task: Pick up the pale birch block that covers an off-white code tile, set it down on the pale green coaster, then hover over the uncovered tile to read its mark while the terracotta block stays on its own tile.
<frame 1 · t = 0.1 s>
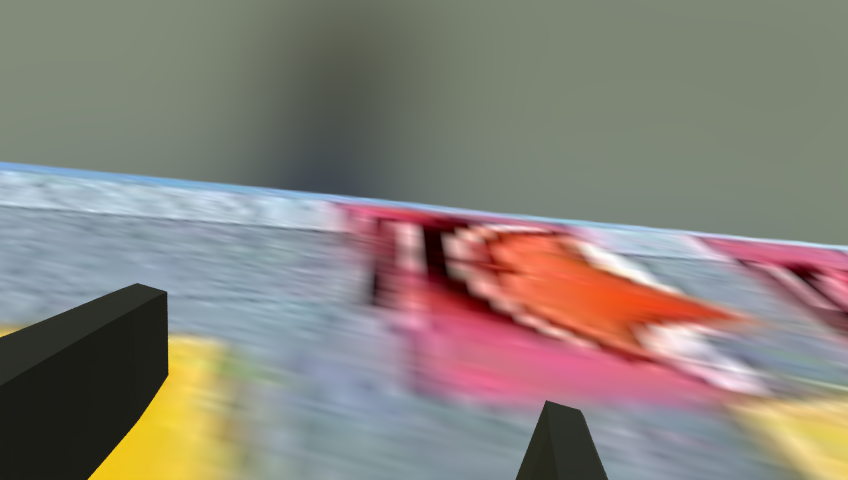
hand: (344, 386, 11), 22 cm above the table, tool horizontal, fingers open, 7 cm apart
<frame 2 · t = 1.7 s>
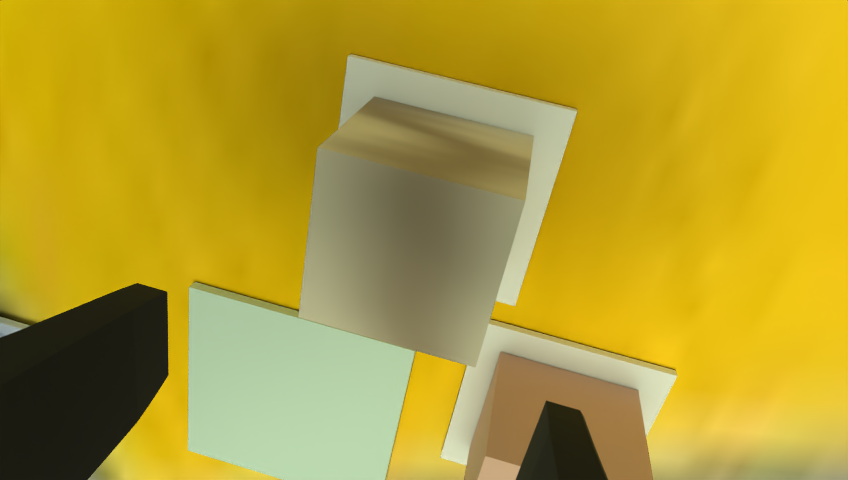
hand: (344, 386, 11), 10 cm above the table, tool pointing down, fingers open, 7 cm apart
birch block: (436, 190, 20), resting on code tile a
coaster: (293, 399, 26), on the table
code tile a: (438, 186, 20), on the table
terracotta block: (548, 421, 23), resting on code tile b
code tile b: (548, 414, 23), on the table
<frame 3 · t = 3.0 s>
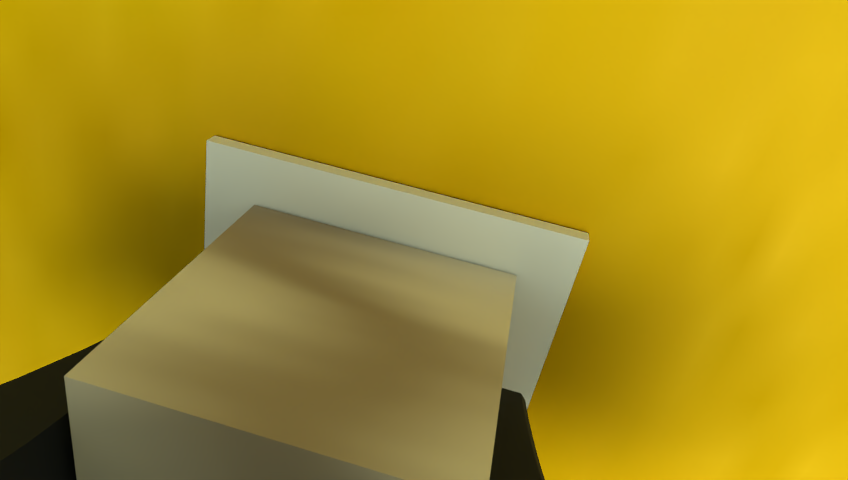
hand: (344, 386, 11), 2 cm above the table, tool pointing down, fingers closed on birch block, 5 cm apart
birch block: (363, 345, 12), resting on code tile a, touching gripper
code tile a: (368, 335, 13), on the table
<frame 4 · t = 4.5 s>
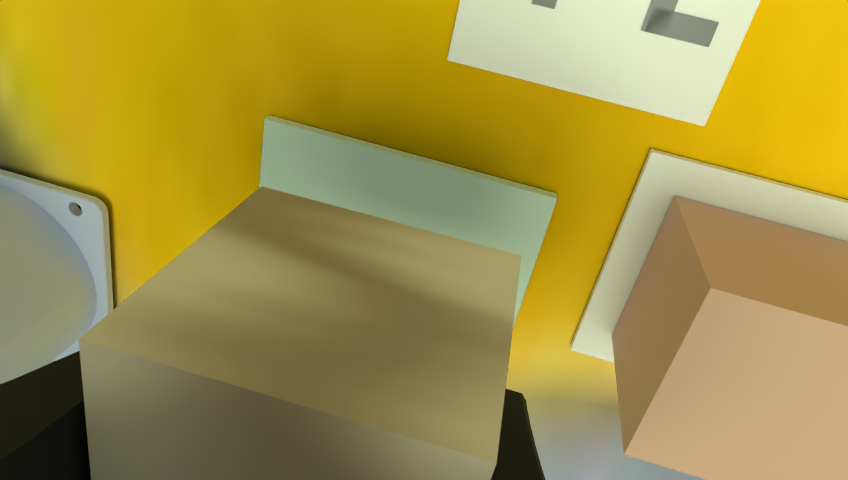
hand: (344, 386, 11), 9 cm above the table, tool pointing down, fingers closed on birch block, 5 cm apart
birch block: (368, 328, 13), point 7 cm above the table, touching gripper
coaster: (385, 277, 21), on the table
terracotta block: (725, 293, 18), resting on code tile b
code tile b: (722, 287, 18), on the table
when the fingers open (3 cm above the table, at t = 6.4 s): birch block stays where it is, resting on coaster.
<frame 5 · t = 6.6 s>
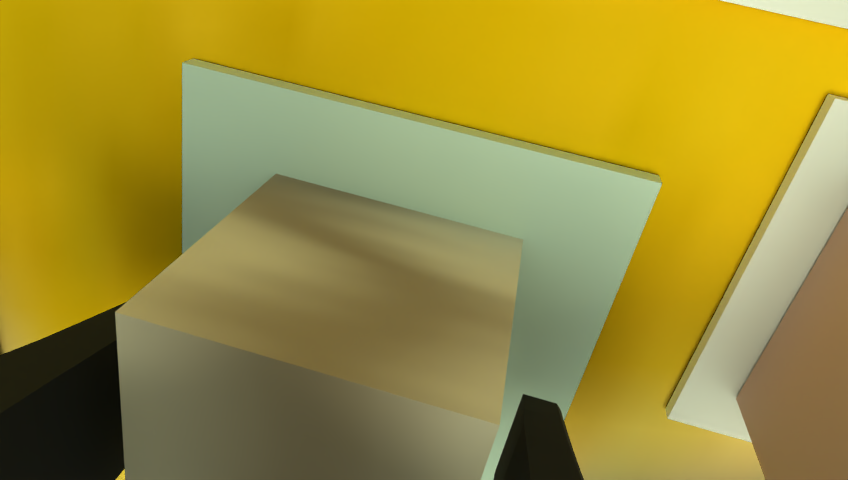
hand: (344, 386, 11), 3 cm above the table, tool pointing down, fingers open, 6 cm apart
birch block: (377, 309, 13), resting on coaster
coaster: (381, 309, 14), on the table
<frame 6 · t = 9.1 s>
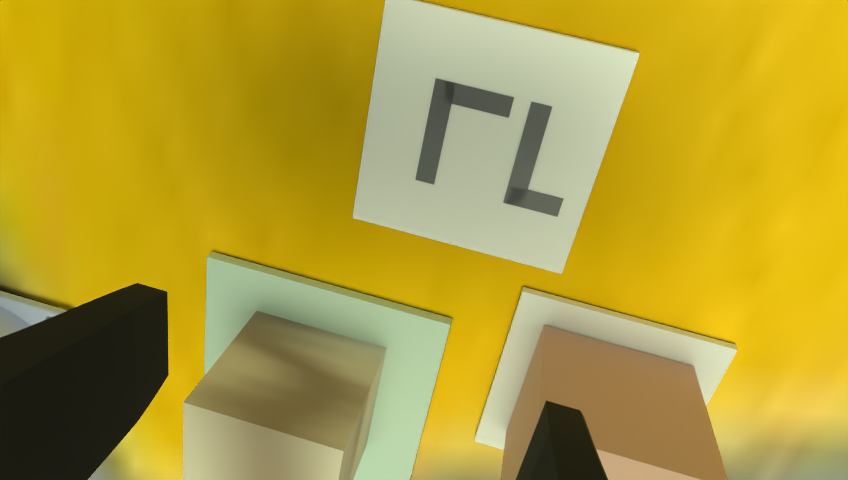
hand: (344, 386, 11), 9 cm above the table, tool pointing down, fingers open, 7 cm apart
birch block: (313, 380, 24), resting on coaster
coaster: (317, 379, 24), on the table
code tile a: (481, 141, 19), on the table
terracotta block: (593, 400, 22), resting on code tile b
code tile b: (593, 394, 22), on the table
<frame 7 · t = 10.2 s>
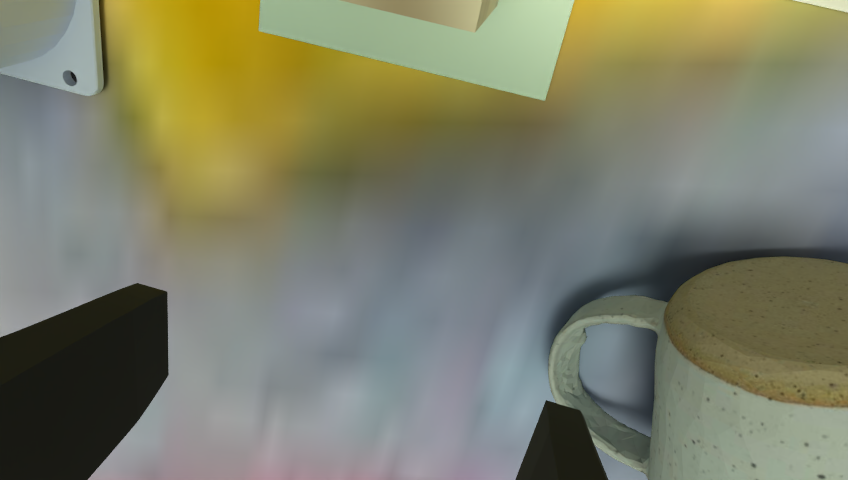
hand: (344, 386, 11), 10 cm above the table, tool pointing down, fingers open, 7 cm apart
ceramic mug: (709, 351, 22), on the table
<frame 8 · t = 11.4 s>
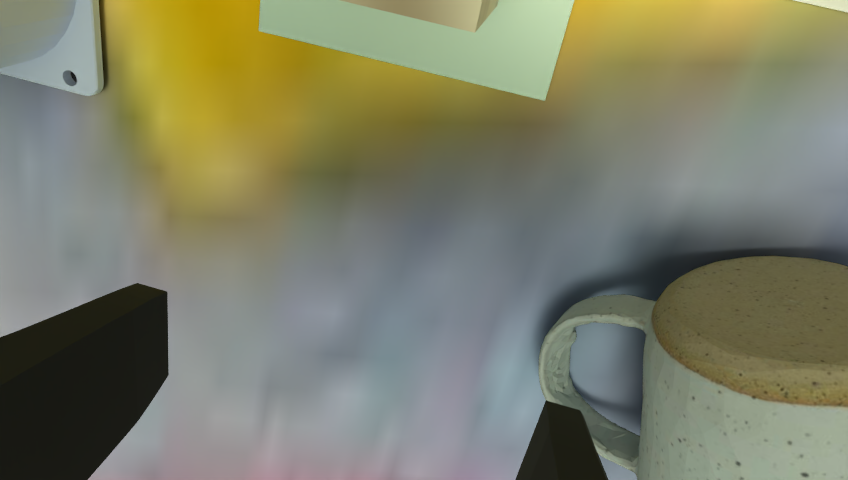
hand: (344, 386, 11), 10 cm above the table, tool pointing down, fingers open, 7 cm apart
ceramic mug: (699, 351, 22), on the table
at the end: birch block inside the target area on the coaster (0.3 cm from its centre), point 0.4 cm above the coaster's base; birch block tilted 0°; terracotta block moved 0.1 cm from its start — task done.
